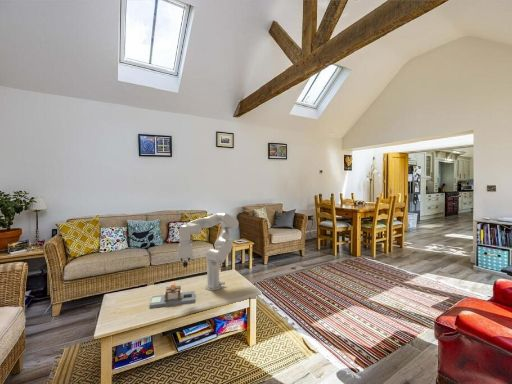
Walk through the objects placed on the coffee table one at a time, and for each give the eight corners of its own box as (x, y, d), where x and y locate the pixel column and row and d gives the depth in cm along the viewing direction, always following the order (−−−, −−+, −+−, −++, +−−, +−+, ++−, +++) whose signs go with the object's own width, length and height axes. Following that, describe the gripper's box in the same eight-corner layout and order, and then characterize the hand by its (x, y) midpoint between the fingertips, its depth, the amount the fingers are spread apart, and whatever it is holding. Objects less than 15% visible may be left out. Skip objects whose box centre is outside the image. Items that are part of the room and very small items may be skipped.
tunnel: (180, 294, 182) (180, 285, 182) (180, 299, 174) (180, 290, 174) (166, 295, 180) (166, 287, 180) (165, 301, 171) (165, 292, 171)
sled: (182, 294, 182) (181, 280, 181) (181, 298, 175) (181, 284, 175) (165, 296, 179) (164, 282, 178) (164, 300, 172) (163, 286, 172)
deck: (194, 293, 188) (194, 290, 187) (194, 302, 174) (194, 299, 174) (152, 298, 180) (152, 295, 180) (149, 308, 166) (149, 305, 166)
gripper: (195, 240, 183) (195, 264, 184) (174, 241, 179) (174, 266, 180) (195, 242, 176) (196, 267, 176) (173, 244, 172) (174, 269, 173)
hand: (185, 267), depth 178 cm, fingers closed
